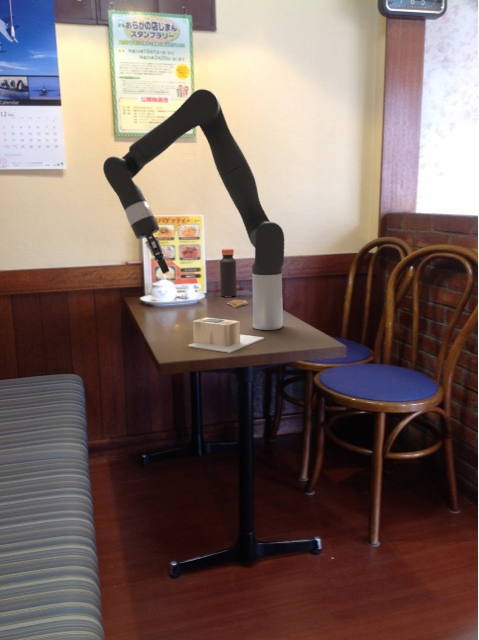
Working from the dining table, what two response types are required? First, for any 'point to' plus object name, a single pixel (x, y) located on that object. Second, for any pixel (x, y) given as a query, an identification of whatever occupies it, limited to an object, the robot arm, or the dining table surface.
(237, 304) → the shard
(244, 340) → the mat
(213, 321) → the wooden block
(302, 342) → the dining table surface
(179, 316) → the dining table surface
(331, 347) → the dining table surface
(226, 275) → the bottle
